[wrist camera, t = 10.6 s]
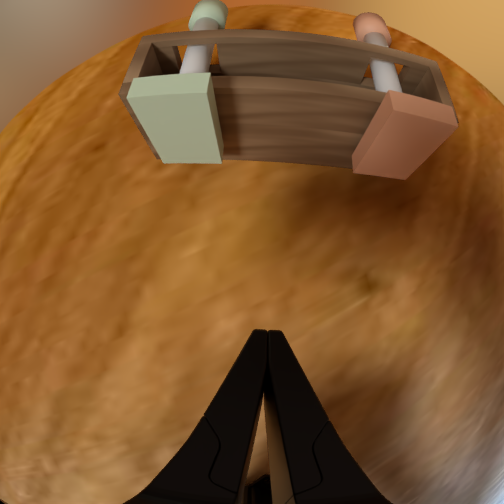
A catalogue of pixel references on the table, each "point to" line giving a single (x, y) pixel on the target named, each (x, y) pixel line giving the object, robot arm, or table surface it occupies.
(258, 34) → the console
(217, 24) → the sage button
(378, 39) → the pink block with rod
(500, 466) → the table surface
